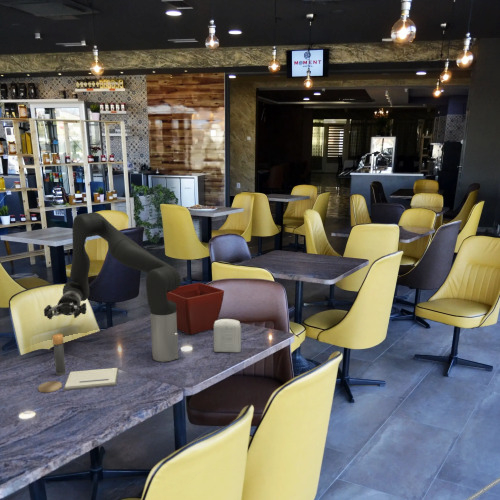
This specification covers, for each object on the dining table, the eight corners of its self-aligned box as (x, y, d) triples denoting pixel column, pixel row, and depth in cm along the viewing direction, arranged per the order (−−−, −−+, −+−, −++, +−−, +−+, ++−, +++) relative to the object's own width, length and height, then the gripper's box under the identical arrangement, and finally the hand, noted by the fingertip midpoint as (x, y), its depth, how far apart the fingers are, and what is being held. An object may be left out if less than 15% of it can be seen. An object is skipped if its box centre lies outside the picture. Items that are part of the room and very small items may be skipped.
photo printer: (241, 348, 186) (241, 317, 184) (240, 353, 182) (240, 321, 180) (214, 348, 187) (213, 317, 185) (213, 352, 183) (212, 321, 181)
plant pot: (200, 318, 223) (199, 281, 220) (226, 328, 209) (225, 290, 205) (163, 327, 211) (161, 289, 208) (187, 339, 197) (186, 298, 193)
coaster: (63, 381, 160) (63, 380, 160) (59, 391, 153) (59, 389, 153) (40, 383, 159) (40, 382, 159) (36, 393, 152) (35, 392, 152)
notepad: (118, 370, 169) (118, 367, 168) (116, 385, 157) (116, 382, 157) (69, 374, 166) (69, 371, 165) (63, 390, 154) (63, 387, 154)
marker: (66, 371, 168) (63, 333, 165) (65, 375, 165) (61, 336, 162) (56, 372, 167) (53, 334, 165) (54, 376, 164) (51, 337, 162)
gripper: (49, 294, 187) (40, 306, 172) (88, 292, 190) (82, 304, 174) (51, 313, 189) (41, 327, 173) (89, 310, 191) (84, 324, 176)
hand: (62, 315), depth 174 cm, fingers open, 8 cm apart
